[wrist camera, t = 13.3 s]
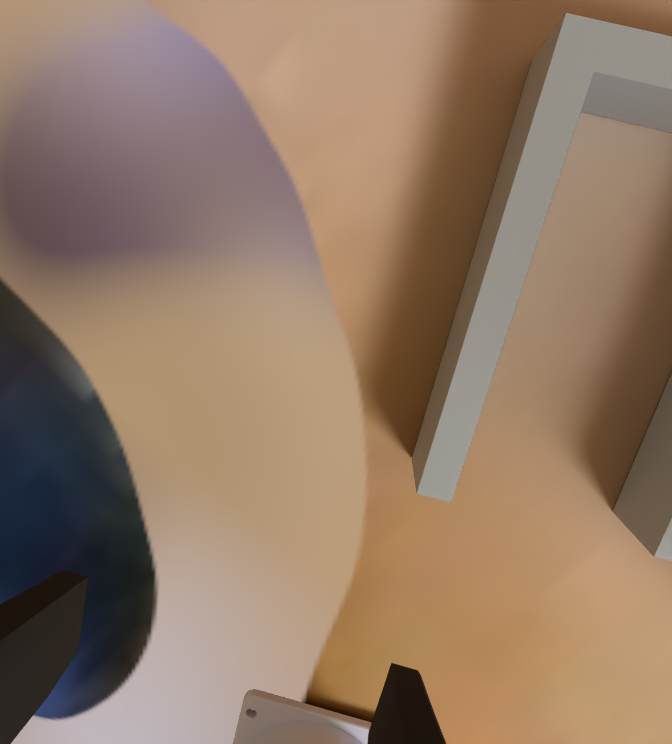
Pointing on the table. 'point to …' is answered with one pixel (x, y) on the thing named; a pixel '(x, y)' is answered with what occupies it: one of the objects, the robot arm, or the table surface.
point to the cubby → (518, 242)
